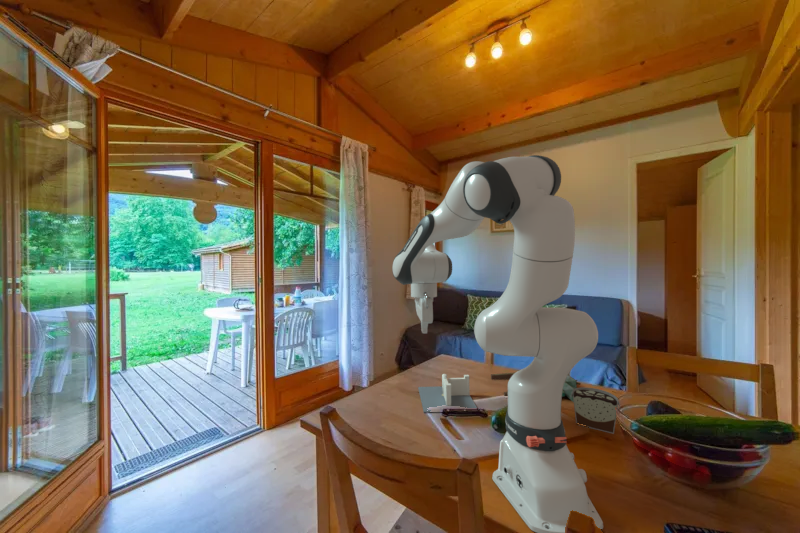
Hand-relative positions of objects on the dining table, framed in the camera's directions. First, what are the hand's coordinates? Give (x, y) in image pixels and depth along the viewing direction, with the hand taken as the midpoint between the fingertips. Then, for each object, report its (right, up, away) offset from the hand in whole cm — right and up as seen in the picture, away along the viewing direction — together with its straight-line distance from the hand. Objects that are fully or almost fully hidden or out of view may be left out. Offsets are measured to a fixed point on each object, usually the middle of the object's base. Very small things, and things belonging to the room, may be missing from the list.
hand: (424, 332), depth 106 cm
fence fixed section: (+12, -25, +9) cm, 29 cm away
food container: (+50, -25, -12) cm, 58 cm away
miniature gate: (+45, -25, +16) cm, 54 cm away
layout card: (+8, -25, +7) cm, 27 cm away
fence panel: (+8, -24, +5) cm, 26 cm away
